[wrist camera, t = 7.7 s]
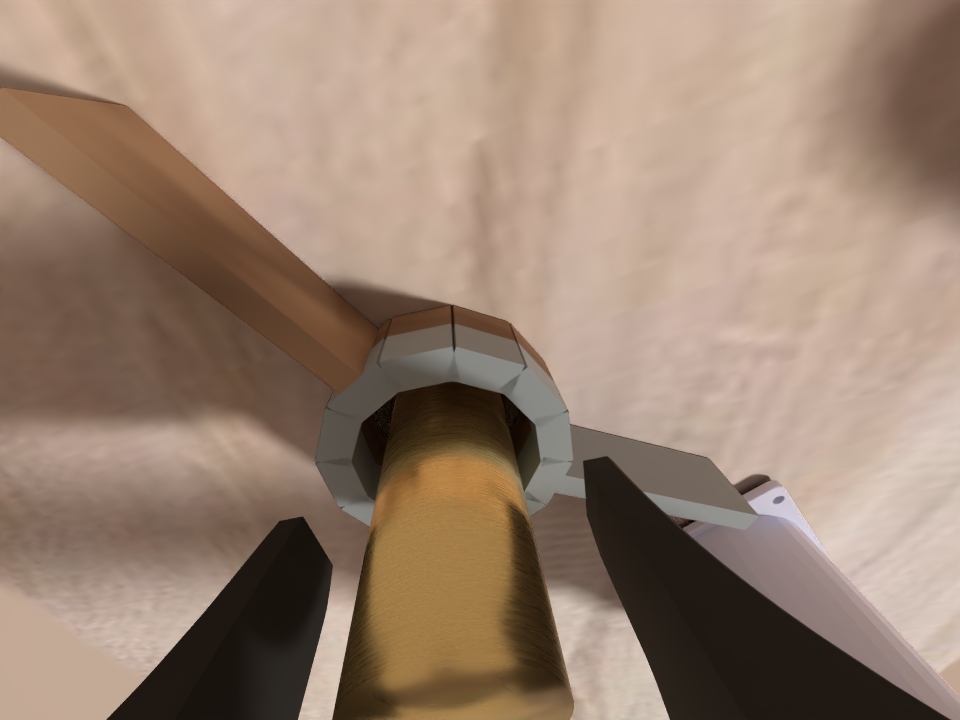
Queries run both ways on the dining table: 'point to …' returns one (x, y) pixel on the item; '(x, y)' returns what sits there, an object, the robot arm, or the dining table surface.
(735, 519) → the slate hinge leaf
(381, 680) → the brass hinge pin
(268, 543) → the robot arm
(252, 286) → the walnut hinge leaf
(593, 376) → the dining table surface
